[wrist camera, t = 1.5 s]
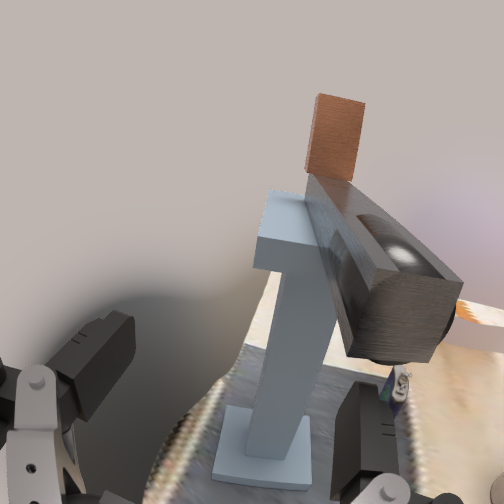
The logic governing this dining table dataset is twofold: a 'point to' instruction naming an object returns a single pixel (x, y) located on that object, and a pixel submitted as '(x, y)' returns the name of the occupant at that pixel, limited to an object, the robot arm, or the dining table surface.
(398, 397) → the flask
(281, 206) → the shelf stand
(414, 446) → the dining table surface
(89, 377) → the robot arm
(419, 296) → the hammer
